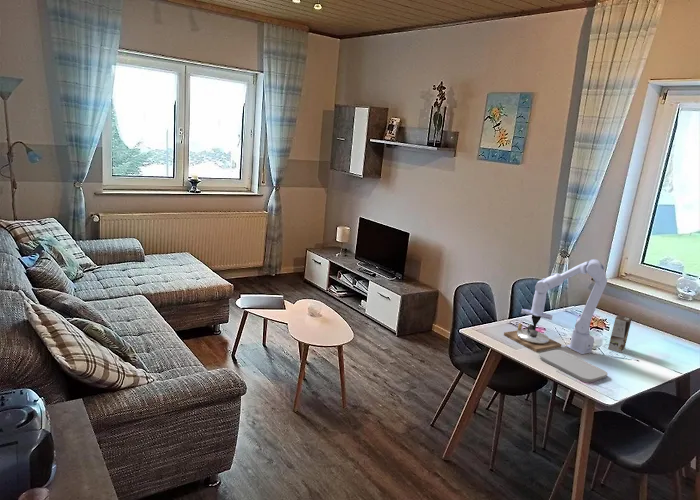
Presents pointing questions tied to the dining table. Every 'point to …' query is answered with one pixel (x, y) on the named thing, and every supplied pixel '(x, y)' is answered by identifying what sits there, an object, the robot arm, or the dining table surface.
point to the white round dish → (537, 339)
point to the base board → (532, 346)
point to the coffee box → (619, 333)
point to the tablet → (573, 365)
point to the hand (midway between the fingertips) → (533, 329)
